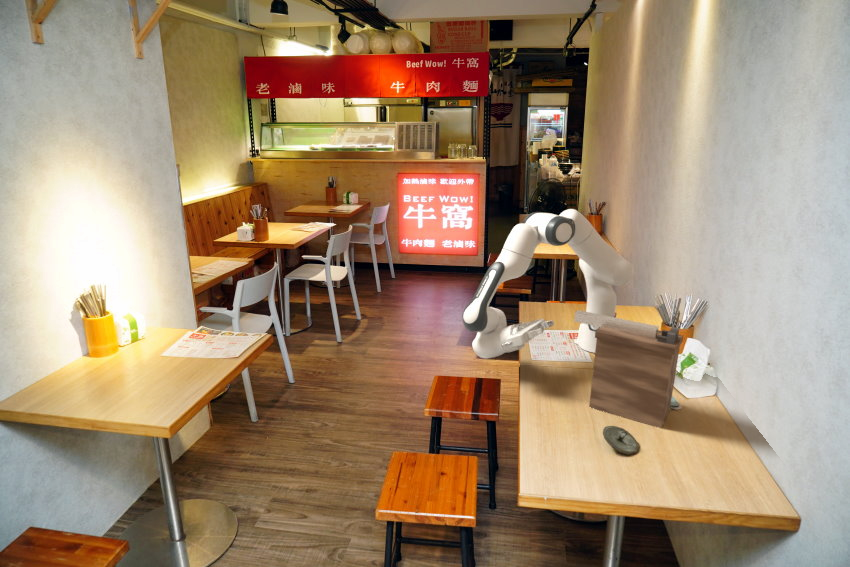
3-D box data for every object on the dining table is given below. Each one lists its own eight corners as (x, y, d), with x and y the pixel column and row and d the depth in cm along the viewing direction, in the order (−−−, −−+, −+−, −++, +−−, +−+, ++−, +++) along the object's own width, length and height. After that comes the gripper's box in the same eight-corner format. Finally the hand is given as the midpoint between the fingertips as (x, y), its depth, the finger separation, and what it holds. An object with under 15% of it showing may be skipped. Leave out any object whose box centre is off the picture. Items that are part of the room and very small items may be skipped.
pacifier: (678, 402, 191) (659, 399, 192) (681, 384, 189) (662, 382, 190) (683, 412, 184) (663, 410, 185) (686, 394, 182) (666, 392, 183)
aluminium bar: (577, 318, 189) (578, 310, 188) (657, 335, 175) (658, 326, 175) (574, 321, 186) (575, 312, 185) (655, 338, 173) (656, 329, 172)
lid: (610, 432, 171) (611, 417, 169) (643, 444, 165) (645, 429, 163) (595, 447, 163) (597, 431, 161) (630, 460, 157) (632, 444, 155)
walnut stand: (599, 392, 195) (608, 311, 187) (671, 412, 183) (684, 326, 175) (587, 407, 185) (596, 322, 177) (662, 429, 173) (676, 339, 165)
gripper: (496, 338, 194) (531, 326, 185) (522, 321, 210) (555, 310, 202) (503, 355, 193) (539, 344, 185) (528, 337, 210) (562, 327, 202)
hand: (547, 326), depth 194 cm, fingers open, 8 cm apart
